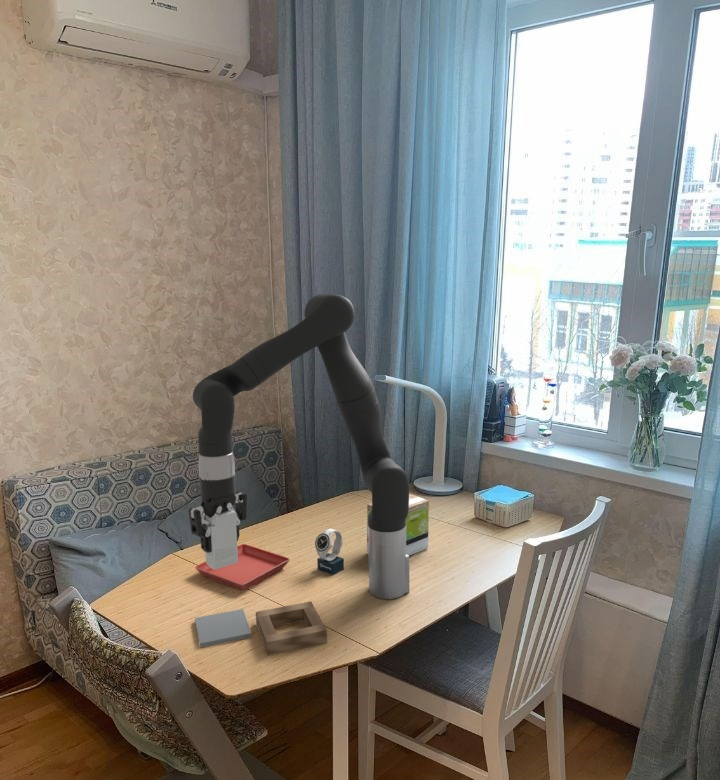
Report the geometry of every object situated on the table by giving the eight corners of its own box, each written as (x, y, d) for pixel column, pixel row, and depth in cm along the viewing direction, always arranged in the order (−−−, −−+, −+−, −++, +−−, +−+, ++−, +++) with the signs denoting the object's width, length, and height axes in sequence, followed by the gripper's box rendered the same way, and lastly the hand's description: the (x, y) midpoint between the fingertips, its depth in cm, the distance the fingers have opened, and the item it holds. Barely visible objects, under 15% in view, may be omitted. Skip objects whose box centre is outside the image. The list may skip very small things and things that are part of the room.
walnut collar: (311, 613, 156) (311, 601, 155) (327, 642, 144) (326, 629, 143) (256, 623, 152) (255, 611, 151) (267, 655, 140) (267, 642, 139)
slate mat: (243, 612, 157) (242, 608, 157) (251, 637, 147) (251, 633, 146) (195, 621, 153) (194, 617, 153) (200, 647, 143) (199, 643, 143)
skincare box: (230, 556, 150) (228, 505, 148) (239, 563, 146) (236, 511, 144) (204, 564, 146) (201, 511, 144) (212, 571, 143) (210, 518, 140)
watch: (312, 572, 176) (311, 533, 174) (332, 561, 182) (331, 523, 180) (328, 578, 173) (327, 538, 170) (348, 567, 179) (347, 528, 176)
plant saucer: (243, 553, 189) (243, 542, 189) (291, 569, 179) (291, 557, 178) (194, 578, 175) (193, 566, 174) (243, 597, 165) (242, 585, 164)
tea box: (391, 565, 179) (390, 513, 176) (366, 553, 187) (365, 503, 184) (429, 548, 189) (429, 499, 186) (404, 538, 196) (404, 490, 193)
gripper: (232, 461, 150) (235, 531, 153) (178, 477, 139) (182, 552, 143) (254, 468, 145) (257, 540, 148) (199, 485, 135) (204, 562, 138)
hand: (220, 545), depth 146 cm, fingers closed on skincare box, 6 cm apart
